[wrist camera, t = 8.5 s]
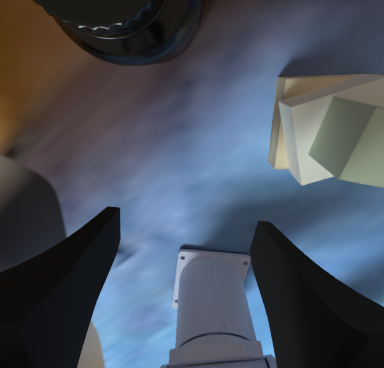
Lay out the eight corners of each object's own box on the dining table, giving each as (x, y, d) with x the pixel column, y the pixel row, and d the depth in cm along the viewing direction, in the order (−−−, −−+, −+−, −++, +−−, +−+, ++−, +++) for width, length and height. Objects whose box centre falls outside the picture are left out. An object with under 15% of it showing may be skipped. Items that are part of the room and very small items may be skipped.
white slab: (363, 150, 20) (385, 162, 18) (289, 171, 21) (301, 185, 18) (363, 73, 17) (389, 76, 15) (278, 101, 18) (290, 107, 16)
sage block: (359, 164, 18) (402, 191, 14) (307, 154, 17) (338, 179, 14) (390, 108, 16) (448, 123, 12) (333, 96, 15) (376, 107, 12)
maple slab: (341, 155, 23) (358, 166, 20) (266, 158, 23) (274, 169, 21) (363, 73, 19) (385, 74, 17) (275, 76, 20) (286, 78, 17)
